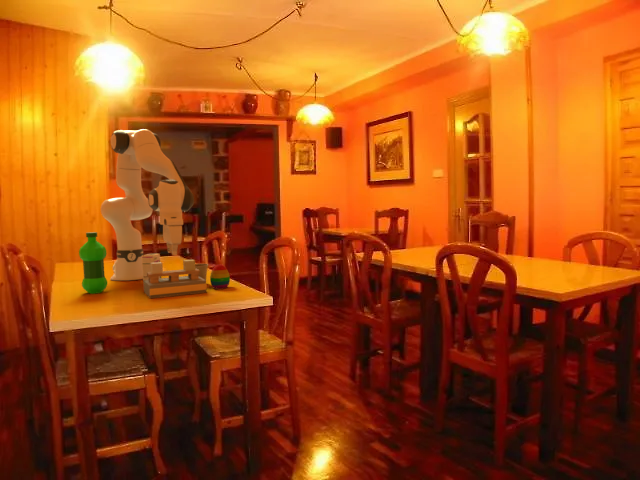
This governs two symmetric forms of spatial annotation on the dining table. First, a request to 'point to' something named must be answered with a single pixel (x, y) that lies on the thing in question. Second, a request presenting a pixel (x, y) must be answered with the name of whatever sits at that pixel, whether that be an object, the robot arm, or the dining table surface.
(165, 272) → the pallet
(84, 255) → the plastic bottle
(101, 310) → the dining table surface
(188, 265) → the crate
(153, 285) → the dock
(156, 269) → the block
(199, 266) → the flower pot
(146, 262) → the syrup box
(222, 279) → the decorative egg
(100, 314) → the dining table surface
